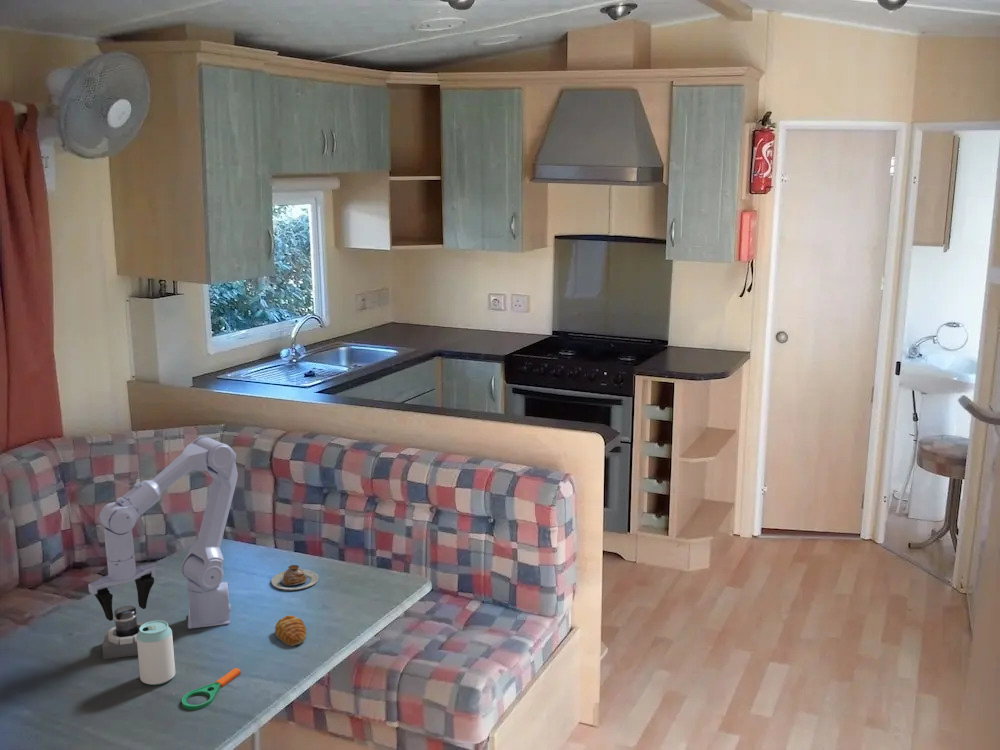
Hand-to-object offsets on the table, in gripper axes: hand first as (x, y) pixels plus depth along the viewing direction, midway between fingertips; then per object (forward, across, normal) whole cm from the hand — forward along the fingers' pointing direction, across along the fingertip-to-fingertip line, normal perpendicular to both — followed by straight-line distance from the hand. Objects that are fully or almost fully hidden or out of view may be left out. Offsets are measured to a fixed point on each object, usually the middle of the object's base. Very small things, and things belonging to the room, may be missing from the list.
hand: (126, 613), depth 216 cm
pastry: (+9, -29, +22) cm, 37 cm away
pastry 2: (+9, -46, -2) cm, 47 cm away
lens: (+5, 0, 0) cm, 5 cm away
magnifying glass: (+9, -4, +30) cm, 31 cm away
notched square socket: (+8, 0, 0) cm, 8 cm away
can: (+9, +2, +17) cm, 19 cm away
